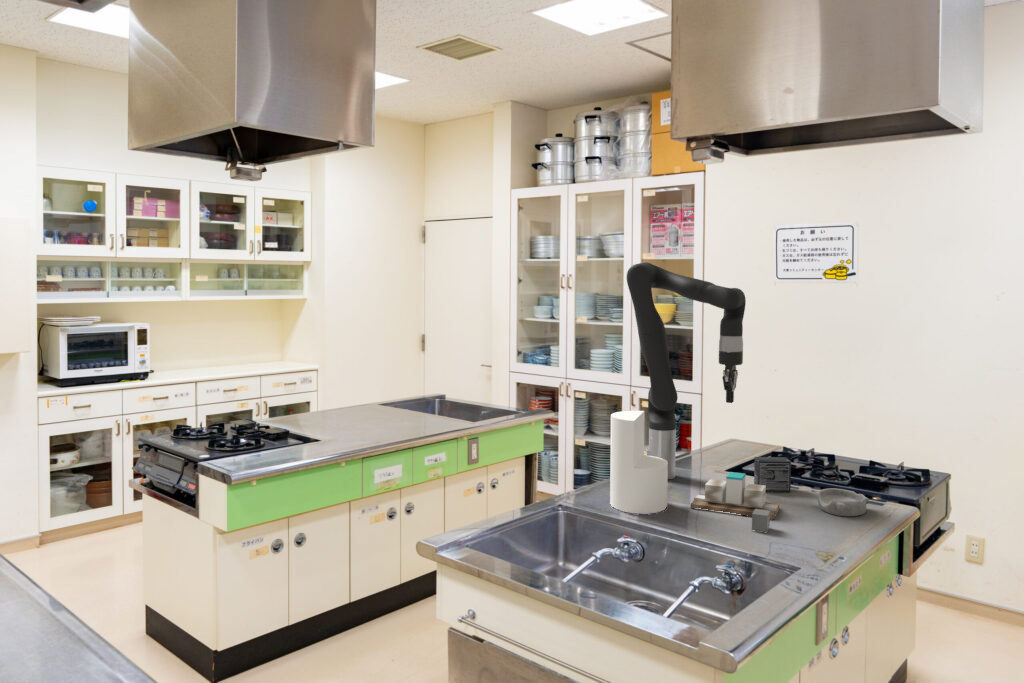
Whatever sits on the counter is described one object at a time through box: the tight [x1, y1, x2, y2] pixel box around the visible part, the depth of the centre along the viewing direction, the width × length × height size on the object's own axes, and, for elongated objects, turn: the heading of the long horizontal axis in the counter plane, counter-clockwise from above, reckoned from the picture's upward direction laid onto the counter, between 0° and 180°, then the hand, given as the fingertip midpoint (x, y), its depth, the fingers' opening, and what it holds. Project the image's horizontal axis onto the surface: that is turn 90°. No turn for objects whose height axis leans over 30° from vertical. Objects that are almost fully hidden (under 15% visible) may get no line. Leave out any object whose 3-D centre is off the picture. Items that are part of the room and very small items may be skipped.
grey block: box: [751, 509, 771, 533], centre depth 209 cm, size 4×5×5 cm
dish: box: [817, 487, 869, 517], centre depth 226 cm, size 14×14×5 cm
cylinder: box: [609, 410, 668, 513], centre depth 230 cm, size 17×17×28 cm
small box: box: [753, 456, 792, 494], centre depth 247 cm, size 11×6×10 cm, turn 84°
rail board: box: [690, 478, 781, 520], centre depth 227 cm, size 24×12×7 cm, turn 63°
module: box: [725, 471, 746, 505], centre depth 227 cm, size 4×6×8 cm
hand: (729, 402), depth 246 cm, fingers closed
